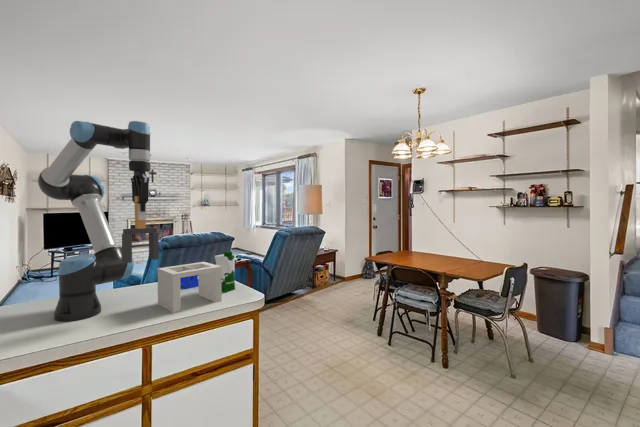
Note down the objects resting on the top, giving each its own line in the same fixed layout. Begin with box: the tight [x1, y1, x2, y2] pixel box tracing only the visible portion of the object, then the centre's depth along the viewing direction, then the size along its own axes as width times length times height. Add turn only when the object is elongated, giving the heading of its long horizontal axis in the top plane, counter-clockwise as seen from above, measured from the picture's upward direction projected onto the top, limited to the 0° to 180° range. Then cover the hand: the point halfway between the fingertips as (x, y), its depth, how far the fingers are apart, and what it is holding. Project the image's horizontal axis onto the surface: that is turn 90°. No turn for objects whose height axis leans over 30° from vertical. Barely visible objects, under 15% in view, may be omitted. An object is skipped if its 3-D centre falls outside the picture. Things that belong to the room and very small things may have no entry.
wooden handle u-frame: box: [121, 196, 160, 263], centre depth 130 cm, size 12×5×26 cm, turn 138°
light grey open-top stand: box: [157, 261, 223, 314], centre depth 145 cm, size 22×16×16 cm
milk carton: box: [214, 250, 237, 293], centre depth 166 cm, size 9×9×20 cm
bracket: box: [178, 271, 199, 290], centre depth 176 cm, size 18×8×9 cm, turn 140°
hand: (140, 219), depth 130 cm, fingers closed on wooden handle u-frame, 3 cm apart
